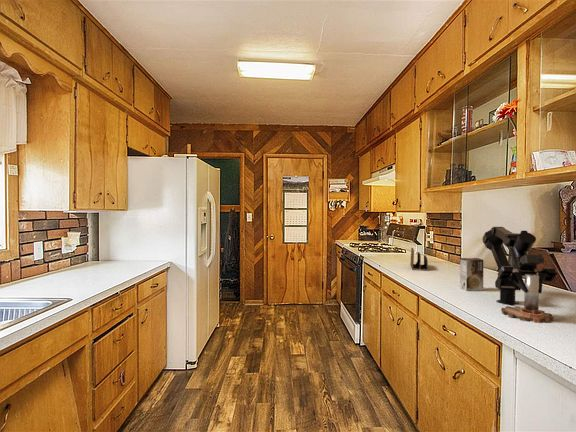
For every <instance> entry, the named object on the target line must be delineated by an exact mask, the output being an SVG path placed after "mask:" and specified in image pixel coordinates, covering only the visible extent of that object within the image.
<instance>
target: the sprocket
mask: <svg viewBox="0 0 576 432" xmlns="http://www.w3.org/2000/svg"><path fill="white" fill-rule="evenodd" d="M500 311H501V314H502V315H506V316H508V318H511V319H518V320H519V321H521V322H522V321H523V322H526V321H530V322H533V323H541V322H543V323H550V322H551V321H552V322H553V321H554V320H555V318H554V315H553V314H552V313H549V312H546V311H545V310H541V309H539V310H538V311H533V310H527V309H525V308H524V307H521V306H520V305H518V306H517V305H516V306H511V305H510V306H509V305H508V306H507V305H506V306H505V307H501V309H500Z"/></svg>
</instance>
